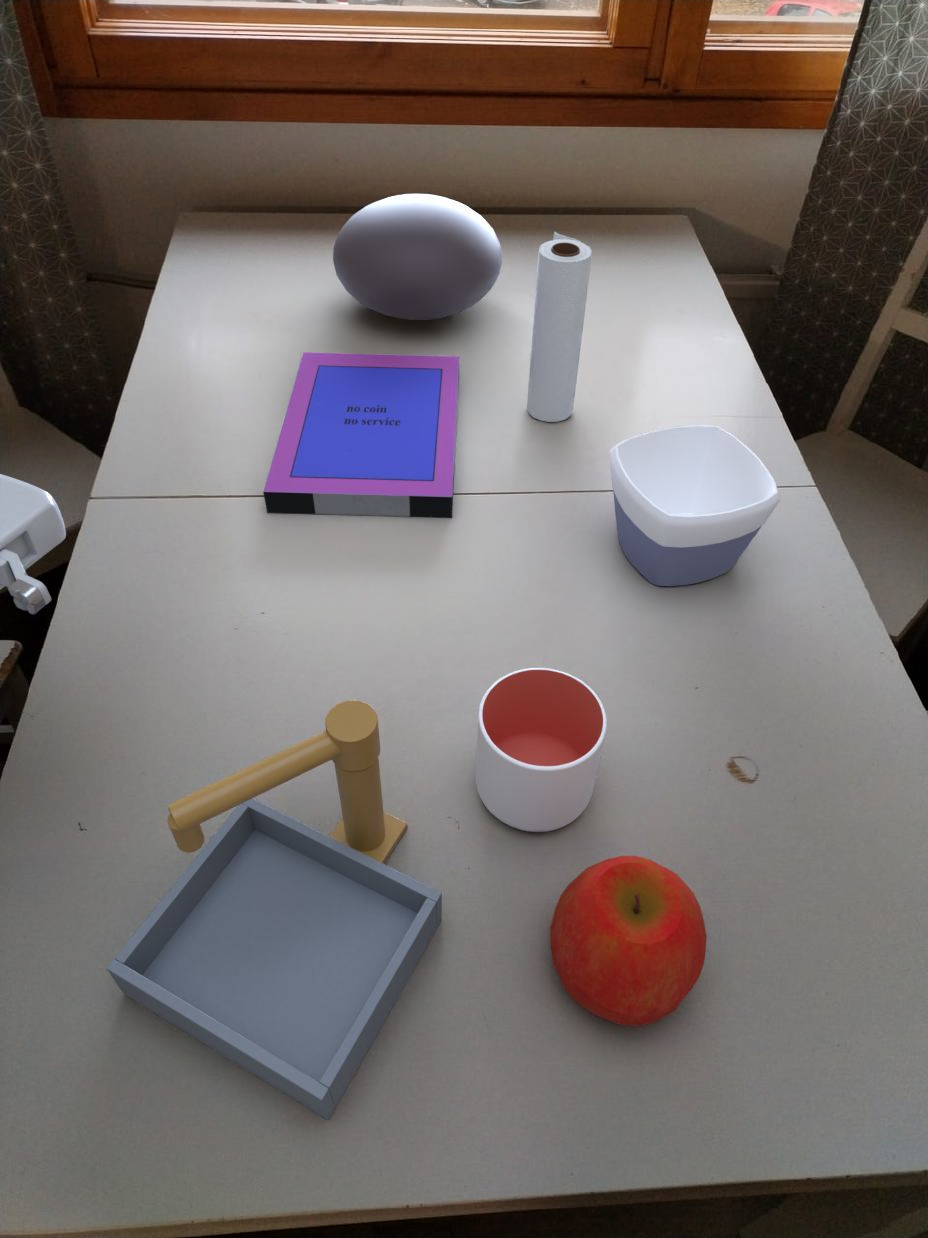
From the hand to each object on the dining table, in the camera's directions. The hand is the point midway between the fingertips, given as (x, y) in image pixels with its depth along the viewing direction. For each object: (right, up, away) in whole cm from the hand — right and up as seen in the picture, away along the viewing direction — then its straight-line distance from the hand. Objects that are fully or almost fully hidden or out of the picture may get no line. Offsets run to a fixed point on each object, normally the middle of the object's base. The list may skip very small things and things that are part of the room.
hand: (5, 628), depth 56 cm
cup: (+35, -14, +21) cm, 43 cm away
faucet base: (+21, -17, +17) cm, 32 cm away
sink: (+16, -24, +10) cm, 31 cm away
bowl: (+52, +8, +42) cm, 67 cm away
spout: (+16, -12, +7) cm, 21 cm away
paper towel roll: (+40, +28, +61) cm, 78 cm away
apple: (+40, -25, +10) cm, 48 cm away
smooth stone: (+22, +48, +80) cm, 96 cm away
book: (+17, +23, +56) cm, 63 cm away
